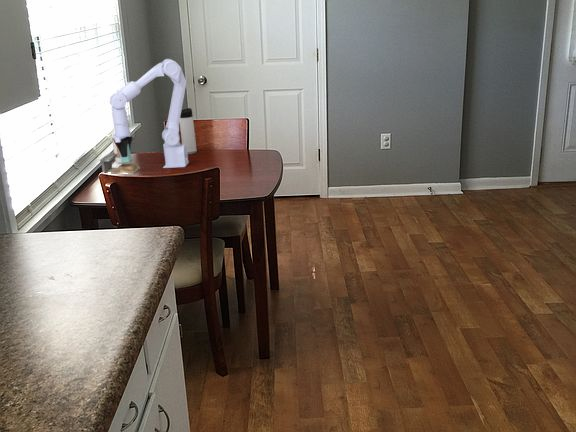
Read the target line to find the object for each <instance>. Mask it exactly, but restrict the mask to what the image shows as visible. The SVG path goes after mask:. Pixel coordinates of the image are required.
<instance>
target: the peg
mask: <svg viewBox="0 0 576 432" xmlns="http://www.w3.org/2000/svg"><path fill="white" fill-rule="evenodd" d="M130 152H131V148H130V149H129V144H128V146H127V157H122V156H121V154H120V157H121V162H128V163H131V162H132V154H131V155H130Z"/></svg>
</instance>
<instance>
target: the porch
mask: <svg viewBox="0 0 576 432" xmlns="http://www.w3.org/2000/svg"><path fill="white" fill-rule="evenodd" d="M116 156H117V154H114V153H107V154H105V156H103V157H102V158H100V159H99V162H100V164H101V170H102V173H103V172H104V173H108V172H111V174H123V173H128V174H134V173H135V172H136V171H137V170H138V169H139V170H140V169H141V166H140V165H139V166H138V163H137V162H128V163H120V165H119V166H117V167H113V164H112V160H113V159H115V157H116ZM139 170H138V171H139ZM138 171H137V172H138ZM137 172H136V173H137ZM136 173H135V174H136ZM135 174H134V175H135Z"/></svg>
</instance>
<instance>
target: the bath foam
mask: <svg viewBox="0 0 576 432" xmlns="http://www.w3.org/2000/svg"><path fill="white" fill-rule="evenodd" d="M113 134H115V128H114V127H113V129H112V131H111V141H112V146H113V152H114V153H113V154H117V156H116V157H114V160H115V163H117V164H125V163H127V162H121V157H120V151H119V149H118V147H117V146H116V145H115V143H114V141H115V137H113ZM130 155H131V156H132V153H131V151H130Z"/></svg>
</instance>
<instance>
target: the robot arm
mask: <svg viewBox="0 0 576 432" xmlns="http://www.w3.org/2000/svg"><path fill="white" fill-rule="evenodd" d="M183 72H184V71H183V69H182V67H181V66H180V64H178V62H176V61H175V60H173V59H171V58H165V59H164V60H162V61H161V62H159V63H157V64H156V65H154V66H153V67H151V68H150V69H149V70H148V71H147V72H146V73H144V74H143V75H142V76H141V77H140V78H139V79H137V80H136V81H133V80H131V81H130V82H129V81H127V82H126V83H125V85H124V86H123V87H122V88H120V90H119V89H118V90H116V93H113V94H112V95H111V96H110V98H109V104H110V105H111V111H112V112H111V114H112V120H113V126H114V127H113V129H114V128H115V134H113V137H115V141H114V143H115V145H116V146H117V147H118V149H119V151H120V154H121V156H122V157H127V146H128V144H129V149H130V150H131V145H132V141H133V138H134V137H133V136H131V135H132V134H131V130H130V127H129V120H128V114H127V110H126V103H129V102H130V101H132V100H133V99H134V98H136V97H137V96H139V94H140V93H141V91H142V90H141V89H142V88H143V87H145V86H146V85H147V84H148V83H150V82H152V81H154V80H155V78H156V79H157V77H165V75H166V76H167V77H168V78H169V79H170V80H171V81H172V83H173V88H172V95H171V101H170V106H169V111H168V117H167V121H166V123H165V124H166V125H165V127H164V129H163V131H162V132H161V137H162V140H163V141H164V143H163V144H162V145H163V146H162V148H163V155H164V162H165V165H164V166H163V167H162V168H163V169H170V168H171V169H172V168H173V169H174V168H185V167H187V165H188V164H189V163H190V161H189V154H187V147H186V145H182V143H181V142H180V139H181V136H180V123H179V121H180V115H181V110H183V104H184V98H185V93H186V88H187V79H186V77H185V74H184V73H183Z"/></svg>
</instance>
